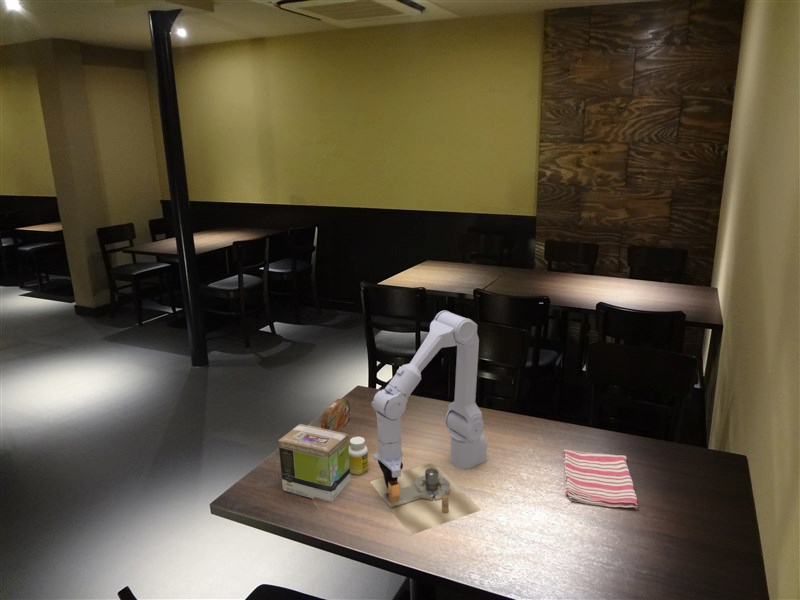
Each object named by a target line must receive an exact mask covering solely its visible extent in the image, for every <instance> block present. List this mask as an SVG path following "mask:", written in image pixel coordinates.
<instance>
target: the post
mask: <svg viewBox="0 0 800 600" xmlns="http://www.w3.org/2000/svg"><path fill="white" fill-rule="evenodd" d="M425 490H428V491H436V490H438V471H437V470H436V469H432V468H431V469H427V470H426V471H425Z"/></svg>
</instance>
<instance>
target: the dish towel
mask: <svg viewBox="0 0 800 600" xmlns="http://www.w3.org/2000/svg"><path fill="white" fill-rule="evenodd" d="M562 451H563V458H564V459H563V464H564V465H563V466H564V478H565V479H564V480H565V484H564V493H565V498H566V499H567V500H568V501H570V502H576V503H577V502H578V503H580V504H586V505H591V506H601V507H608V508H609V507H610V508H629V509H634V510H638V508H639V507H638V506H639V503H638V498H637V494H636V491H635V488H634V486H635V484H634V481H633V479H632V476H631V474H630V470H629V467H628V463H627V460H628V459H627V458H628V457H627V455H625V454H624V455H623V454H621V455H617V454H608V453H598V452H587V451H585V452H584V451H577V450H571V449H563V450H562Z"/></svg>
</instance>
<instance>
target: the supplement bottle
mask: <svg viewBox="0 0 800 600" xmlns="http://www.w3.org/2000/svg"><path fill="white" fill-rule="evenodd" d="M349 462H350V475H351V476H363V475H365V474H367V472H368V471H369V450H368V446H366V440H365V438H364V437H361V436H353V437H352V438H350V439H349Z"/></svg>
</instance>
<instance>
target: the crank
mask: <svg viewBox="0 0 800 600" xmlns="http://www.w3.org/2000/svg"><path fill="white" fill-rule="evenodd" d="M423 484H425V475H424V476H421V477H418V479H416V480H415V482H414V484H413V485H411V486H408V487H405V488H402V489H399V483H398V482H397V480H396V479H395V480H392V481H389V482H388V493H386V494H383V499H384V500H385V501H386V503H387V504H388V505H389V506H388V505H387V504H386V503H385V504H386V505H387V506H388V508H389V507H390V508H392V507H395V506H398V505H401V504H404V503H407V502H411V501H414V500H417V499H420V498H424V499H429V500H433V498H434V499H435V500H437V499H440V498H442V495H448V493H449V491H450V483H449V482H448V481H447V480H446V478H445V477H443V478H442V476H439V475H438V484H439V485H440V486H441V489H439V490H436V491H428V490H424V488H423V487H422V486H423ZM383 499H382V500H383ZM384 500H383V501H384ZM385 501H384V502H385ZM390 508H389V509H390Z"/></svg>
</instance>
